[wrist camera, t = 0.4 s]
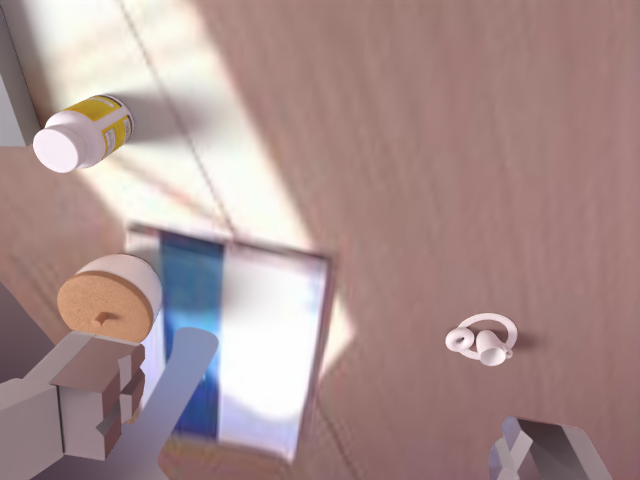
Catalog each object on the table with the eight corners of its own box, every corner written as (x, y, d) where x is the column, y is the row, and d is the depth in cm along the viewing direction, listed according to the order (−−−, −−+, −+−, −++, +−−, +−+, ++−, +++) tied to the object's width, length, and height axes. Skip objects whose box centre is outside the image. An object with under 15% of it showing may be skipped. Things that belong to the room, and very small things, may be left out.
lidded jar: (98, 226, 54) (52, 270, 46) (183, 258, 55) (153, 306, 47) (86, 290, 59) (43, 340, 51) (165, 318, 61) (135, 370, 53)
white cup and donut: (435, 339, 59) (440, 362, 56) (472, 298, 56) (480, 320, 52) (489, 365, 61) (497, 388, 57) (529, 326, 57) (540, 349, 54)
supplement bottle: (73, 106, 47) (10, 135, 38) (114, 84, 45) (57, 109, 37) (106, 152, 49) (54, 188, 41) (145, 132, 47) (99, 166, 39)
